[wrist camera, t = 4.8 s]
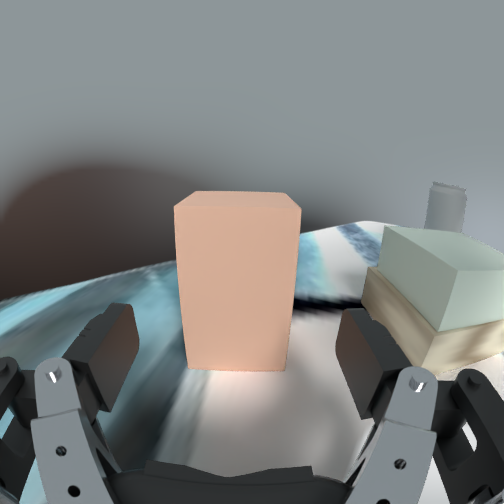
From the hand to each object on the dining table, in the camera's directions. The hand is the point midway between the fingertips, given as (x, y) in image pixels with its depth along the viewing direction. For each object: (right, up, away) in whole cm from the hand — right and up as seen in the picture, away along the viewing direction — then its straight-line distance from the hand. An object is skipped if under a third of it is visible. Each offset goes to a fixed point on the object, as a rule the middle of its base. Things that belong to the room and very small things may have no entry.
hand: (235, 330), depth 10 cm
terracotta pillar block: (0, -4, +9) cm, 10 cm away
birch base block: (+17, -4, +10) cm, 20 cm away
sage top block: (+17, 0, +8) cm, 19 cm away
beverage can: (+30, +1, +26) cm, 40 cm away
